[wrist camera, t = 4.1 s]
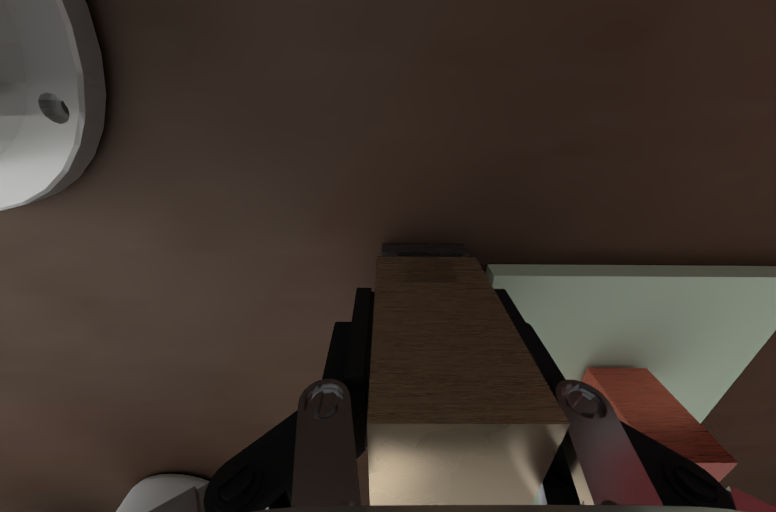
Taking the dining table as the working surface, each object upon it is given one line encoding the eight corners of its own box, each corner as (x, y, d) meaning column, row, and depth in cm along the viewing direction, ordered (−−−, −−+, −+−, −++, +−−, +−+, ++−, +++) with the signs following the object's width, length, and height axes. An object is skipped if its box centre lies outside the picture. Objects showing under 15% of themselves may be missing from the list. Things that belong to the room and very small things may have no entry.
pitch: (487, 264, 14) (494, 275, 13) (789, 266, 14) (817, 277, 13) (443, 496, 23) (445, 512, 23) (619, 496, 24) (628, 512, 23)
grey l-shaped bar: (376, 256, 12) (367, 424, 6) (708, 258, 12) (1042, 424, 6) (378, 488, 20) (375, 657, 14) (574, 488, 21) (655, 655, 14)
